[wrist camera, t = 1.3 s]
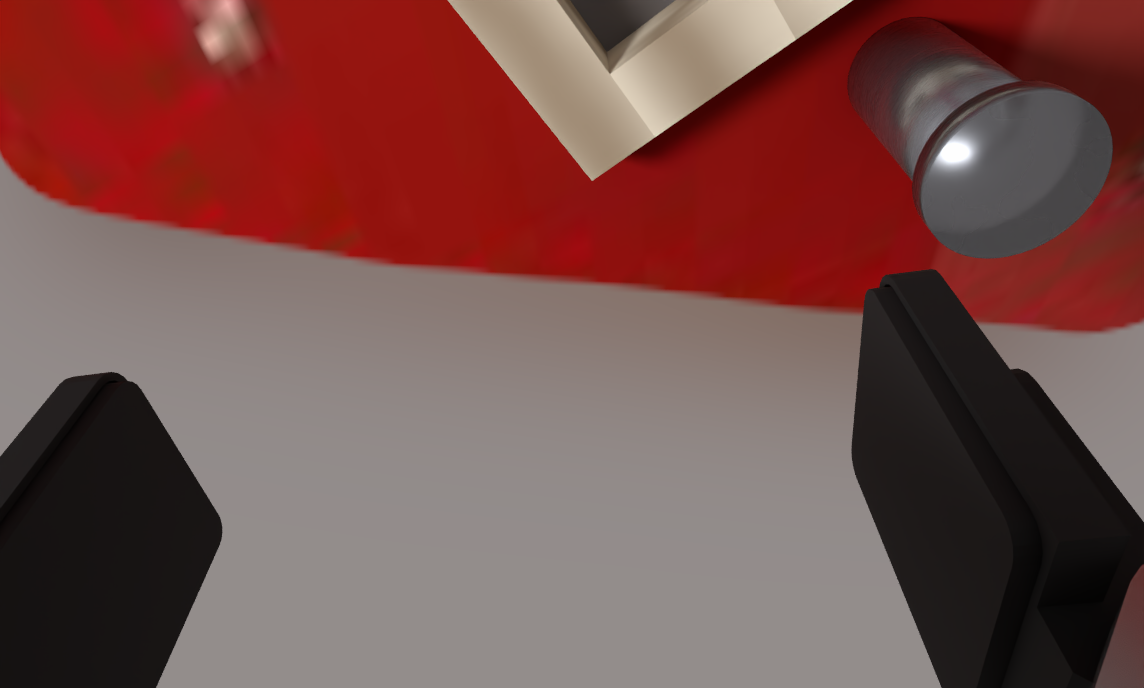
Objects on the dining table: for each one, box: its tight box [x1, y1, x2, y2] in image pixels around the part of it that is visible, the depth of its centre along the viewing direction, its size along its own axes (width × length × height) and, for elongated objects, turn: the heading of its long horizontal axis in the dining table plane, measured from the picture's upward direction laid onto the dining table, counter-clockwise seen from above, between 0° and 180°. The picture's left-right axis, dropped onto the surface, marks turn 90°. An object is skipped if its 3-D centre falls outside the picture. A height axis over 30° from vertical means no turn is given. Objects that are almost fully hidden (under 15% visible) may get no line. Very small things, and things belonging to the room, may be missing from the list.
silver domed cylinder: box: [848, 17, 1113, 258], centre depth 28 cm, size 5×5×10 cm
